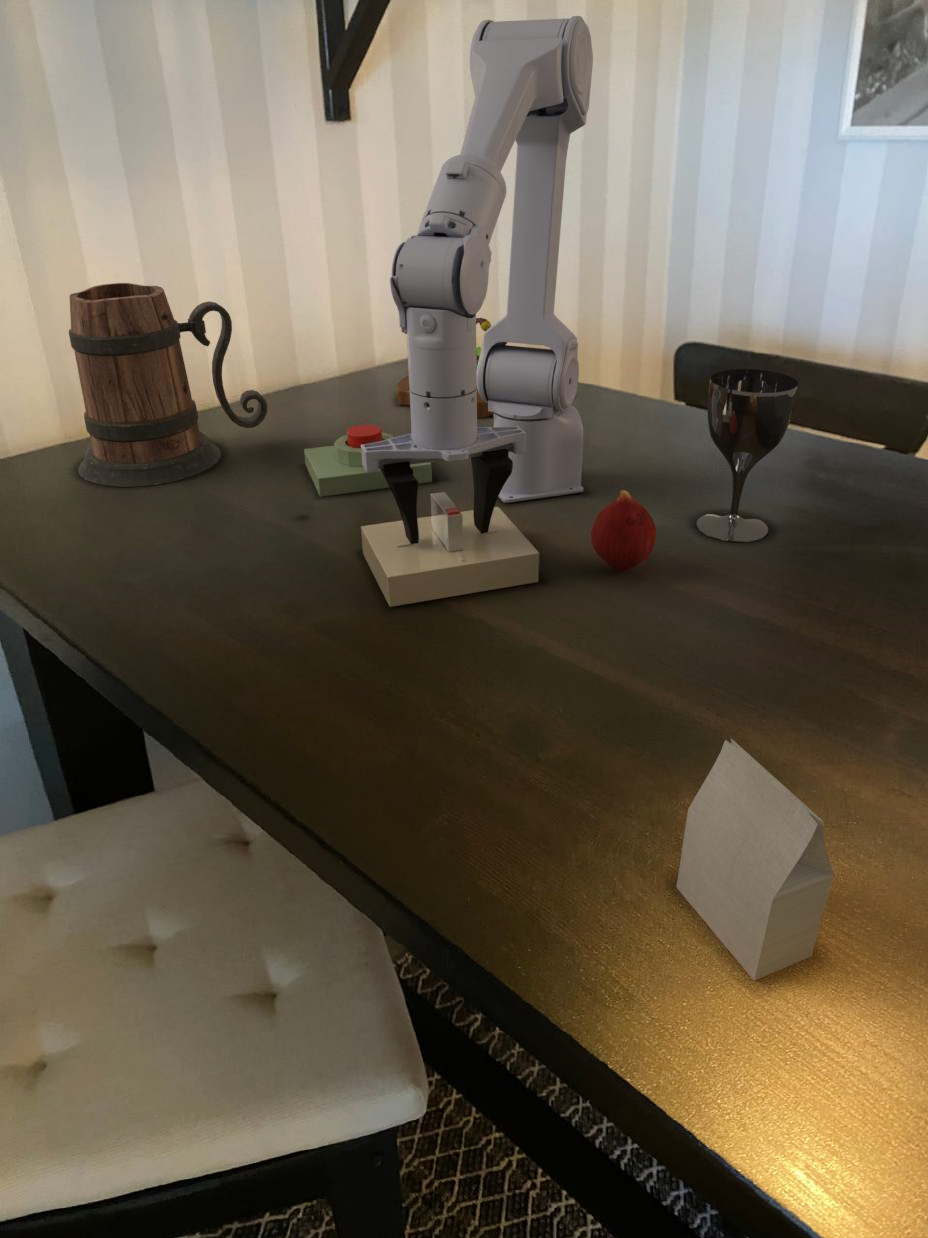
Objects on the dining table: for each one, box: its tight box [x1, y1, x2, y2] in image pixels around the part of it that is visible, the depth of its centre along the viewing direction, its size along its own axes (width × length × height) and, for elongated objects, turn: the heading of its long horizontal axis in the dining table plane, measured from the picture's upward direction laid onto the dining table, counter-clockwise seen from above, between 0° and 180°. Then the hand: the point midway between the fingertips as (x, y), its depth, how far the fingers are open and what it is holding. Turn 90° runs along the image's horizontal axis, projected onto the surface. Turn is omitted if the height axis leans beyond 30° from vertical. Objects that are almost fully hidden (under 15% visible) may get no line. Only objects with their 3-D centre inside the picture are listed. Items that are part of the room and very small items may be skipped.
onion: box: [590, 489, 657, 573], centre depth 82 cm, size 6×6×8 cm
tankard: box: [68, 282, 268, 488], centre depth 107 cm, size 24×17×20 cm
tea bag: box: [676, 738, 835, 982], centre depth 46 cm, size 4×7×10 cm, turn 23°
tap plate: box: [360, 506, 540, 608], centre depth 84 cm, size 14×11×3 cm
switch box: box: [430, 491, 463, 552], centre depth 83 cm, size 6×1×4 cm, turn 18°
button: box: [346, 424, 383, 448], centre depth 104 cm, size 4×4×2 cm
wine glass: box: [695, 368, 799, 543], centre depth 88 cm, size 8×8×15 cm
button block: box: [303, 432, 433, 498], centre depth 105 cm, size 13×10×4 cm
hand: (447, 534), depth 83 cm, fingers open, 6 cm apart
